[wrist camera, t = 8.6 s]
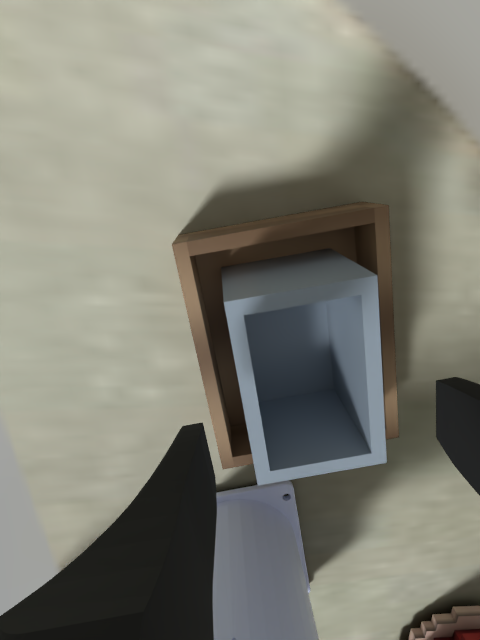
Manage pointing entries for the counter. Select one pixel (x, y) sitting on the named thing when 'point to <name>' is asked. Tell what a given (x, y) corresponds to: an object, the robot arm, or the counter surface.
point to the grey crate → (307, 363)
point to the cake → (450, 625)
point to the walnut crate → (265, 243)
